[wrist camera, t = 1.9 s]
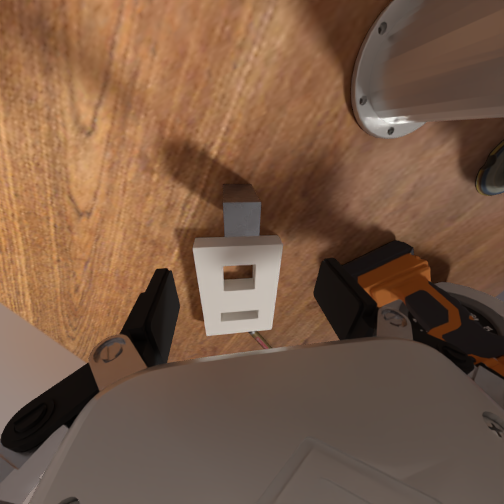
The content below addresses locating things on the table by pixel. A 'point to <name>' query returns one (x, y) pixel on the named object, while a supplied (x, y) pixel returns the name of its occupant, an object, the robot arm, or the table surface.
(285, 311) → the table surface
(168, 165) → the table surface
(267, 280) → the hole board
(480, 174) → the apothecary jar
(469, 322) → the power drill
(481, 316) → the alarm clock
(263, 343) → the olive long knobbed bar
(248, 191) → the square peg
